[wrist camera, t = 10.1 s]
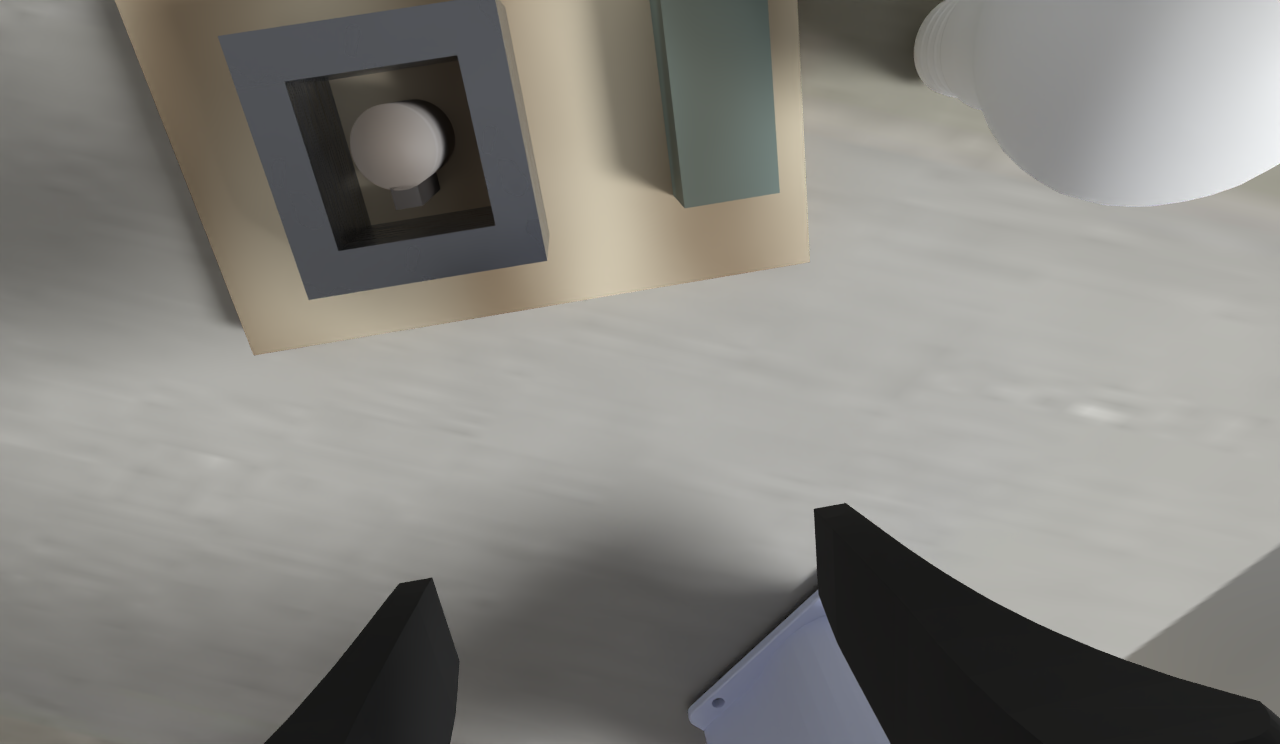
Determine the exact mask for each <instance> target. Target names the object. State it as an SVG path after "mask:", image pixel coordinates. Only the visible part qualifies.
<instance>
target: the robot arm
mask: <svg viewBox="0 0 1280 744" xmlns="http://www.w3.org/2000/svg"><path fill="white" fill-rule="evenodd" d="M814 519H815V538H816V557H817V576H818V590H817V591H816V592H815V593H813V594H812V595H811V596H810V597H809V598H808V599H807V600H806V601H805V602H804V603H803V604H801V605H800V606H799V607H798V608H797V609H796V610H795V611H794V612H793V613H792V614H791V615H789V616H788V617H787V618H786V619H785V620H784V621H783V622H782V623H781V624H780V625H779V626H777V627H776V628H775V629H774V630H773V631H772V632H771V633H770V634H769V635H768V636H767V637H765V638H764V639H763V640H762V641H761V642H760V643H759V644H758V645H757V646H756V647H755V648H753V649H752V650H751V651H750V652H749V653H748V654H747V655H746V656H745V657H744V658H743V659H741V660H740V661H739V662H738V663H737V664H736V665H735V666H734V667H733V668H732V669H731V670H729V671H728V672H727V673H726V674H725V675H724V676H723V677H722V678H721V679H720V680H719V681H717V682H716V683H715V684H714V685H713V686H712V687H711V688H710V689H709V690H708V691H707V692H705V693H704V694H703V695H702V696H701V697H700V698H699V699H698V700H697V701H696V702H695V703H693V704H692V705H691V706H690V708H689V709H688V717H689V721H690V723H691V724H693V725H694V726H696V727H698V728H699V729H701V730H703V731H704V733H705V738H706V743H707V744H1280V718H1279V717H1278V716H1277V715H1275V714H1274V713H1273V712H1272V711H1271V710H1270V709H1268V708H1267V707H1266V706H1265V705H1263V704H1262V703H1261V702H1260V701H1256V700H1253V699H1249V698H1246V697H1242V696H1239V695H1235V694H1231V693H1228V692H1225V691H1221V690H1218V689H1214V688H1211V687H1207V686H1204V685H1200V684H1197V683H1193V682H1190V681H1186V680H1183V679H1179V678H1176V677H1173V676H1170V675H1167V674H1164V673H1161V672H1158V671H1155V670H1152V669H1149V668H1147V667H1144V666H1141V665H1138V664H1135V663H1132V662H1129V661H1126V660H1124V659H1121V658H1118V657H1116V656H1113V655H1110V654H1108V653H1105V652H1102V651H1100V650H1097V649H1095V648H1092V647H1090V646H1088V645H1085V644H1083V643H1080V642H1078V641H1076V640H1073V639H1071V638H1069V637H1066V636H1064V635H1062V634H1059V633H1057V632H1055V631H1052V630H1050V629H1048V628H1046V627H1044V626H1041V625H1039V624H1037V623H1035V622H1033V621H1031V620H1029V619H1027V618H1025V617H1023V616H1021V615H1019V614H1017V613H1015V612H1013V611H1011V610H1009V609H1007V608H1005V607H1003V606H1001V605H999V604H997V603H995V602H994V601H992V600H990V599H988V598H986V597H984V596H983V595H981V594H979V593H977V592H976V591H974V590H972V589H971V588H969V587H967V586H966V585H964V584H962V583H961V582H959V581H957V580H956V579H954V578H952V577H951V576H949V575H947V574H946V573H944V572H943V571H941V570H940V569H938V568H936V567H935V566H933V565H932V564H930V563H929V562H927V561H926V560H924V559H923V558H921V557H920V556H918V555H917V554H915V553H914V552H912V551H911V550H909V549H908V548H907V547H905V546H904V545H902V544H901V543H900V542H898V541H897V540H895V539H894V538H893V537H891V536H890V535H889V534H887V533H886V532H884V531H883V530H882V529H880V528H879V527H878V526H876V525H875V524H873V523H872V522H871V521H869V520H868V519H867V518H865V517H864V516H863V515H861V514H860V513H859V512H857V511H856V510H854V509H853V508H852V507H850V506H849V505H848V504H846V503H844V504H839V505H833V506H827V507H822V508H816V509H814ZM458 673H459V658H458V655H457V652H456V649H455V646H454V643H453V640H452V637H451V634H450V631H449V628H448V625H447V622H446V619H445V616H444V613H443V610H442V606H441V603H440V600H439V597H438V594H437V591H436V588H435V585H434V582H433V579H432V578H427V579H422V580H416V581H411V582H405V583H400V584H399V585H398V586H397V587H396V588H395V589H394V591H393V592H392V593H391V594H390V596H389V597H388V598H387V600H386V601H385V602H384V603H383V605H382V606H381V607H380V609H379V610H378V611H377V612H376V614H375V615H374V616H373V618H372V619H371V620H370V621H369V623H368V624H367V625H366V627H365V628H364V629H363V630H362V632H361V633H360V634H359V636H358V637H357V638H356V639H355V641H354V642H353V643H352V644H351V646H350V647H349V648H348V649H347V651H346V652H345V653H344V654H343V656H342V657H341V658H340V659H339V661H338V662H337V663H336V664H335V666H334V667H333V668H332V669H331V670H330V672H329V673H328V674H327V675H326V676H325V677H324V678H323V680H322V681H321V682H320V683H319V684H318V685H317V686H316V688H315V689H314V690H313V691H312V692H311V693H310V694H309V696H308V697H307V698H306V699H305V700H304V701H303V702H302V704H301V705H300V706H299V707H298V708H297V709H296V710H295V712H294V713H293V714H292V715H291V716H290V717H289V718H288V719H287V720H286V721H285V722H284V723H283V725H282V726H281V727H280V728H279V729H278V730H277V731H276V732H275V733H274V734H273V735H272V736H271V737H270V738H269V739H268V740H267V741H266V742H265V743H264V744H450V740H451V735H452V730H453V725H454V719H455V713H456V701H457V689H458ZM716 698H720V699H717V700H714V699H716Z"/></svg>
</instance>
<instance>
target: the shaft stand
mask: <svg viewBox="0 0 1280 744" xmlns="http://www.w3.org/2000/svg"><path fill="white" fill-rule="evenodd" d="M447 1H453V0H115V2H116V5H117V7H118V10H119V12H120V15H121V18H122V20H123V23H124V25H125V28H126V30H127V33H128V35H129V38H130V41H131V43H132V46H133V48H134V51H135V53H136V56H137V58H138V61H139V64H140V66H141V69H142V71H143V74H144V76H145V79H146V81H147V84H148V87H149V89H150V92H151V94H152V97H153V99H154V102H155V104H156V107H157V109H158V112H159V115H160V117H161V120H162V122H163V125H164V127H165V130H166V132H167V135H168V138H169V140H170V143H171V145H172V148H173V150H174V153H175V155H176V158H177V161H178V163H179V166H180V168H181V171H182V173H183V176H184V178H185V181H186V184H187V186H188V189H189V191H190V194H191V196H192V199H193V201H194V204H195V207H196V209H197V212H198V214H199V217H200V219H201V222H202V224H203V227H204V230H205V232H206V235H207V237H208V240H209V242H210V245H211V247H212V250H213V252H214V255H215V258H216V260H217V263H218V265H219V268H220V270H221V273H222V275H223V278H224V281H225V283H226V286H227V288H228V291H229V293H230V296H231V298H232V301H233V304H234V306H235V309H236V311H237V314H238V316H239V319H240V321H241V324H242V327H243V329H244V332H245V334H246V337H247V339H248V342H249V344H250V347H251V350H252V352H253V355H259V354H265V353H271V352H277V351H283V350H289V349H295V348H301V347H307V346H313V345H319V344H325V343H331V342H337V341H343V340H349V339H355V338H361V337H367V336H372V335H378V334H384V333H390V332H396V331H402V330H408V329H414V328H420V327H426V326H432V325H438V324H444V323H450V322H456V321H462V320H468V319H474V318H480V317H486V316H492V315H498V314H504V313H510V312H516V311H522V310H528V309H534V308H540V307H546V306H551V305H557V304H563V303H569V302H575V301H581V300H587V299H593V298H599V297H605V296H611V295H617V294H623V293H629V292H635V291H641V290H647V289H653V288H659V287H665V286H671V285H677V284H683V283H689V282H695V281H701V280H707V279H713V278H719V277H725V276H730V275H736V274H742V273H748V272H754V271H760V270H766V269H772V268H778V267H784V266H790V265H796V264H802V263H808V262H810V254H809V233H808V212H807V191H806V170H805V149H804V128H803V107H802V86H801V65H800V44H799V23H798V2H797V0H500V2H501V3H502V4H503V5H504V6H505V8H506V13H507V18H508V23H509V28H510V34H511V39H512V44H513V49H514V54H515V59H516V64H517V69H518V75H519V80H520V85H521V90H522V95H523V100H524V105H525V111H526V116H527V121H528V126H529V131H530V136H531V141H532V147H533V152H534V157H535V162H536V167H537V172H538V177H539V182H540V188H541V193H542V198H543V203H544V208H545V213H546V218H547V224H548V229H549V234H550V235H549V247H548V258H547V261H543V262H537V263H531V264H525V265H519V266H513V267H507V268H501V269H495V270H489V271H482V272H476V273H470V274H464V275H458V276H452V277H446V278H440V279H434V280H428V281H422V282H416V283H410V284H403V285H397V286H391V287H385V288H379V289H373V290H367V291H361V292H355V293H349V294H343V295H337V296H331V297H324V298H318V299H312V300H308V297H307V294H306V291H305V288H304V285H303V282H302V279H301V276H300V273H299V271H298V268H297V265H296V262H295V259H294V256H293V253H292V250H291V247H290V245H289V242H288V239H287V236H286V233H285V230H284V227H283V224H282V221H281V218H280V216H279V213H278V210H277V207H276V204H275V201H274V198H273V195H272V192H271V189H270V187H269V184H268V181H267V178H266V175H265V172H264V169H263V166H262V163H261V161H260V158H259V155H258V152H257V149H256V146H255V143H254V140H253V137H252V134H251V132H250V129H249V126H248V123H247V120H246V117H245V114H244V111H243V108H242V106H241V103H240V100H239V97H238V94H237V91H236V88H235V85H234V82H233V79H232V77H231V74H230V71H229V68H228V65H227V62H226V59H225V56H224V53H223V50H222V48H221V45H220V42H219V39H218V36H221V35H228V34H234V33H241V32H248V31H254V30H261V29H267V28H274V27H281V26H287V25H294V24H301V23H307V22H314V21H321V20H327V19H334V18H340V17H347V16H354V15H360V14H367V13H374V12H380V11H387V10H393V9H400V8H407V7H413V6H420V5H427V4H433V3H440V2H447ZM329 83H330V87H331V90H332V94H333V97H334V100H335V104H336V107H337V110H338V114H339V117H340V121H341V124H342V127H343V131H344V134H345V138H346V141H347V144H348V148H349V151H350V155H351V158H352V161H353V165H354V168H355V172H356V175H357V178H358V182H359V185H360V188H361V192H362V195H363V199H364V202H365V205H366V209H367V212H368V216H369V219H370V222H371V225H376V224H382V223H388V222H395V221H401V220H407V219H413V218H419V217H426V216H432V215H438V214H444V213H450V212H457V211H463V210H469V209H475V208H481V207H488V206H491V203H490V199H489V194H488V190H487V185H486V181H485V176H484V172H483V167H482V163H481V158H480V154H479V150H478V145H477V141H476V136H475V132H474V127H473V123H472V118H471V114H470V109H469V105H468V101H467V96H466V92H465V87H464V83H463V78H462V74H461V69H460V65H459V60H458V61H452V62H445V63H439V64H432V65H426V66H419V67H413V68H406V69H400V70H393V71H387V72H380V73H374V74H367V75H361V76H354V77H348V78H341V79H335V80H329Z"/></svg>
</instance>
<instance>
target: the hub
mask: <svg viewBox="0 0 1280 744" xmlns="http://www.w3.org/2000/svg"><path fill="white" fill-rule="evenodd" d="M218 39H219V42H220V45H221V48H222V50H223V53H224V56H225V59H226V62H227V65H228V68H229V71H230V74H231V77H232V79H233V82H234V85H235V88H236V91H237V94H238V97H239V100H240V103H241V106H242V108H243V111H244V114H245V117H246V120H247V123H248V126H249V129H250V132H251V134H252V137H253V140H254V143H255V146H256V149H257V152H258V155H259V158H260V161H261V163H262V166H263V169H264V172H265V175H266V178H267V181H268V184H269V187H270V189H271V192H272V195H273V198H274V201H275V204H276V207H277V210H278V213H279V216H280V218H281V221H282V224H283V227H284V230H285V233H286V236H287V239H288V242H289V245H290V247H291V250H292V253H293V256H294V259H295V262H296V265H297V268H298V271H299V273H300V276H301V279H302V282H303V285H304V288H305V291H306V294H307V297H308V300H312V299H318V298H324V297H331V296H337V295H343V294H349V293H355V292H361V291H367V290H373V289H379V288H385V287H391V286H397V285H403V284H410V283H416V282H422V281H428V280H434V279H440V278H446V277H452V276H458V275H464V274H470V273H476V272H482V271H489V270H495V269H501V268H507V267H513V266H519V265H525V264H531V263H537V262H543V261H547V258H548V247H549V235H550V234H549V229H548V224H547V218H546V213H545V208H544V203H543V198H542V193H541V188H540V182H539V177H538V172H537V167H536V162H535V157H534V152H533V147H532V141H531V136H530V131H529V126H528V121H527V116H526V111H525V105H524V100H523V95H522V90H521V85H520V80H519V75H518V69H517V64H516V59H515V54H514V49H513V44H512V39H511V34H510V28H509V23H508V18H507V13H506V8H505V6H504V5H503V4H502V3H501V2H500V0H453V1H447V2H440V3H433V4H427V5H420V6H413V7H407V8H400V9H393V10H387V11H380V12H374V13H367V14H360V15H354V16H347V17H340V18H334V19H327V20H321V21H314V22H307V23H301V24H294V25H287V26H281V27H274V28H267V29H261V30H254V31H248V32H241V33H234V34H228V35H221V36H218ZM458 60H459V65H460V69H461V74H462V78H463V83H464V87H465V92H466V96H467V101H468V105H469V109H470V114H471V118H472V123H473V127H474V132H475V136H476V141H477V145H478V150H479V154H480V158H481V163H482V167H483V172H484V176H485V181H486V185H487V190H488V194H489V199H490V203H491V206H488V207H481V208H475V209H469V210H463V211H457V212H450V213H444V214H438V215H432V216H426V217H419V218H413V219H407V220H401V221H395V222H388V223H382V224H376V225H371V222H370V219H369V216H368V212H367V209H366V205H365V202H364V199H363V195H362V192H361V188H360V185H359V182H358V178H357V175H356V172H355V168H354V165H353V161H352V158H351V155H350V151H349V148H348V144H347V141H346V138H345V134H344V131H343V127H342V124H341V121H340V117H339V114H338V110H337V107H336V104H335V100H334V97H333V94H332V90H331V87H330V83H329V80H335V79H341V78H348V77H354V76H361V75H367V74H374V73H380V72H387V71H393V70H400V69H406V68H413V67H419V66H426V65H432V64H439V63H445V62H452V61H458Z"/></svg>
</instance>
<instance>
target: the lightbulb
mask: <svg viewBox="0 0 1280 744" xmlns="http://www.w3.org/2000/svg"><path fill="white" fill-rule="evenodd" d="M914 62H915V67H916V70H917V73H918V75H919V77H920V78H921V80H922V82H923V83H924V84H925V85H926V86H927V87H928V88H930V89H931V90H933V91H935V92H937V93H940V94H943V95H946V96H949V97H955V98H958V99H959V100H960V101H961V102H963V103H965V104H966V105H968V106H970V107H972V108H975V109H978V110H982V112H983V115H984V117H985V119H986V122H987V124H988V126H989V129H990V130H991V132H992V134H993V135H994V137H995V139H996V140H997V142H998V143H999V145H1000V147H1001V148H1002V150H1003V151H1004V152H1005V153H1006V154H1007V155H1008V156H1009V157H1010V158H1011V159H1012V160H1013V161H1014V162H1015V163H1016V164H1017V165H1018V166H1019V167H1020V168H1021V169H1022V170H1023V171H1025V172H1026V173H1028V174H1029V175H1031V176H1032V177H1033V178H1035V179H1036V180H1038V181H1039V182H1041V183H1043V184H1045V185H1046V186H1048V187H1050V188H1051V189H1053V190H1055V191H1057V192H1058V193H1061V194H1064V195H1068V196H1071V197H1075V198H1078V199H1081V200H1085V201H1089V202H1093V203H1097V204H1101V205H1109V206H1129V207H1138V206H1159V205H1165V204H1171V203H1177V202H1184V201H1189V200H1193V199H1197V198H1202V197H1206V196H1210V195H1213V194H1216V193H1219V192H1222V191H1225V190H1227V189H1230V188H1233V187H1236V186H1239V185H1241V184H1243V183H1245V182H1247V181H1249V180H1250V179H1252V178H1254V177H1256V176H1258V175H1260V174H1262V173H1264V172H1265V171H1267V170H1269V169H1271V168H1273V167H1274V166H1276V165H1278V164H1280V0H945V1H943V2H941V3H940V4H938V5H937V6H936V7H935V8H934V9H933V10H931V12H930V13H929V14H928V15H927V17H926V18H925V19H924V21H923V23H922V24H921V26H920V28H919V31H918V33H917V36H916V40H915V45H914Z"/></svg>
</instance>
